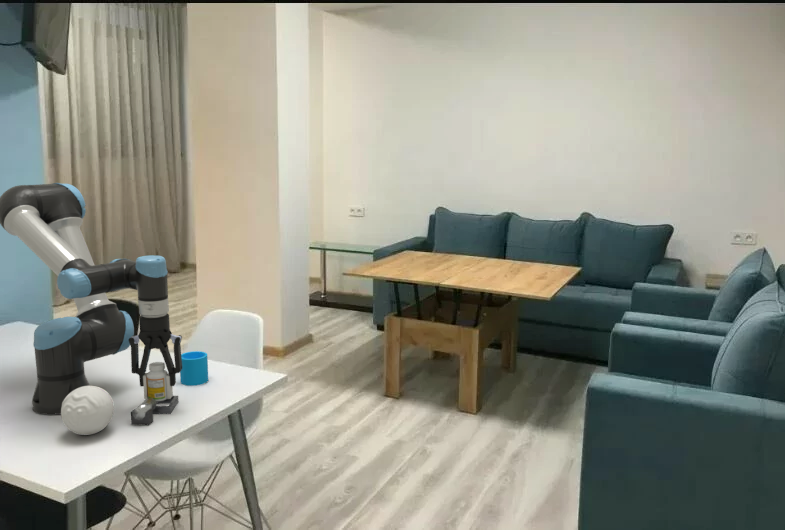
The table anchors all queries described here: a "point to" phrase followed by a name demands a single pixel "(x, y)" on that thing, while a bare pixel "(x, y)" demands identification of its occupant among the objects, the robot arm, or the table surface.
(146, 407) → the shaft
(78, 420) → the decorative ball
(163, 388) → the supplement bottle
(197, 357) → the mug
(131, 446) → the table surface
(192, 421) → the table surface
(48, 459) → the table surface
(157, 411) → the collar
